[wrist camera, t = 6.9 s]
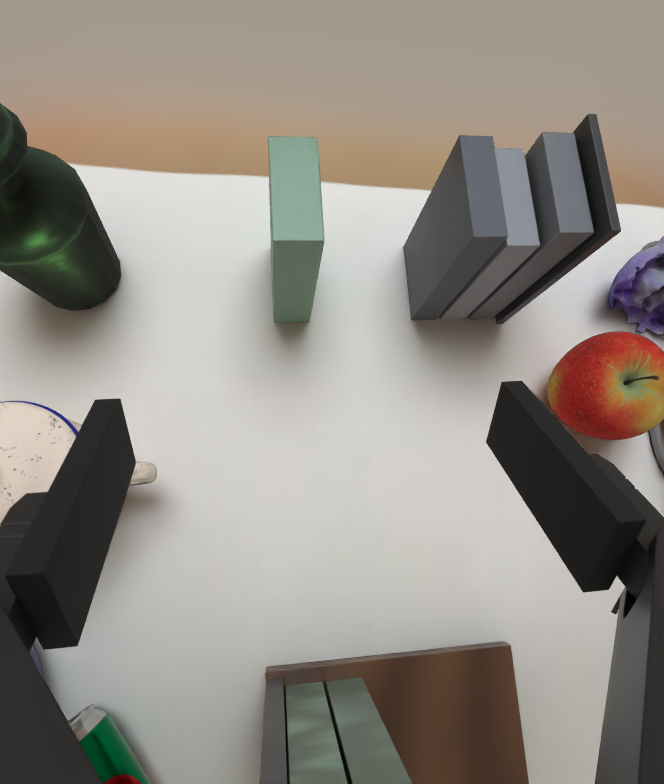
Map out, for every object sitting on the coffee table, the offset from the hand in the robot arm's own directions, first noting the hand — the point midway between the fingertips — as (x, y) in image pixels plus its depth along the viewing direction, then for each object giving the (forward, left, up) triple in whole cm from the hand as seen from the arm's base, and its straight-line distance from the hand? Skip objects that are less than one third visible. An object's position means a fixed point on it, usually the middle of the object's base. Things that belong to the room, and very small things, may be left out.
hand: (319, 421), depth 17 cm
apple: (-24, -4, -21) cm, 33 cm away
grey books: (-14, -15, -21) cm, 30 cm away
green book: (0, -15, -21) cm, 26 cm away
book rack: (-6, +19, -21) cm, 29 cm away
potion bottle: (+17, -16, -21) cm, 32 cm away
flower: (-32, -14, -21) cm, 41 cm away
